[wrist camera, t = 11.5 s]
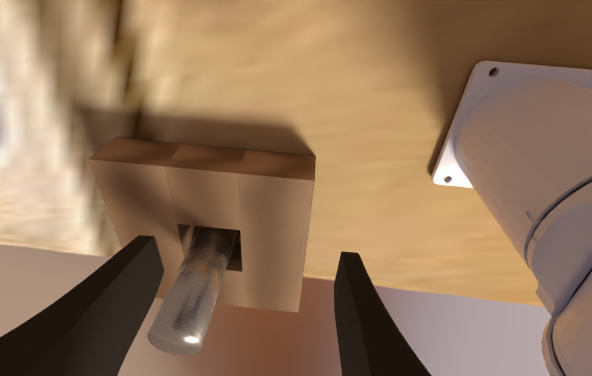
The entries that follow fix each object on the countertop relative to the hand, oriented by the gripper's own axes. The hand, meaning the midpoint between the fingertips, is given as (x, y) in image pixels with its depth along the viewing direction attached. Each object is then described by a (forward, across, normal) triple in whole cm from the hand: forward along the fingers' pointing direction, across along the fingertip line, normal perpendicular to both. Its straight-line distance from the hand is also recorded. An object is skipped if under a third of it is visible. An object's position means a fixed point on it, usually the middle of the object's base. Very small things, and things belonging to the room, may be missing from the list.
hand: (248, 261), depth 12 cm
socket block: (+10, +4, +8) cm, 14 cm away
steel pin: (+10, +4, +8) cm, 14 cm away
